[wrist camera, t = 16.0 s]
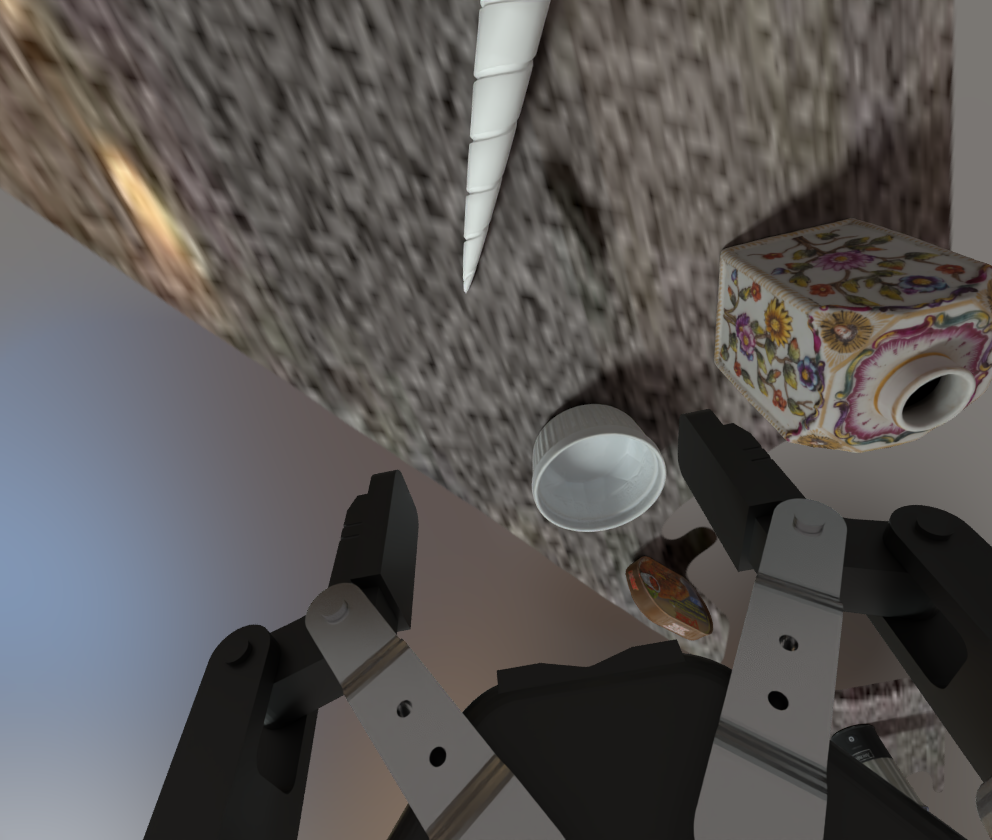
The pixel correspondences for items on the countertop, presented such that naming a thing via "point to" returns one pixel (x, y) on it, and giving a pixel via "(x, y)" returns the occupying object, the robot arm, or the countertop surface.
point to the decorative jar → (854, 333)
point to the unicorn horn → (496, 108)
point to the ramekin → (595, 469)
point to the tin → (668, 599)
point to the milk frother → (874, 756)
